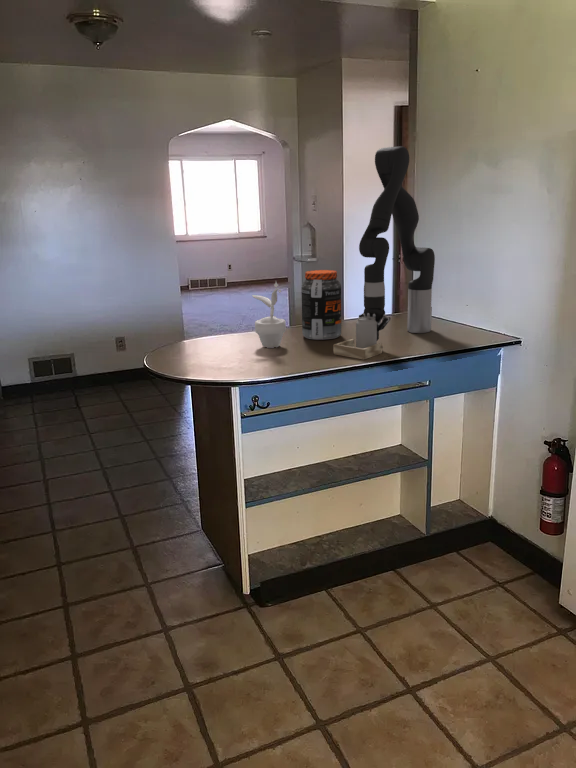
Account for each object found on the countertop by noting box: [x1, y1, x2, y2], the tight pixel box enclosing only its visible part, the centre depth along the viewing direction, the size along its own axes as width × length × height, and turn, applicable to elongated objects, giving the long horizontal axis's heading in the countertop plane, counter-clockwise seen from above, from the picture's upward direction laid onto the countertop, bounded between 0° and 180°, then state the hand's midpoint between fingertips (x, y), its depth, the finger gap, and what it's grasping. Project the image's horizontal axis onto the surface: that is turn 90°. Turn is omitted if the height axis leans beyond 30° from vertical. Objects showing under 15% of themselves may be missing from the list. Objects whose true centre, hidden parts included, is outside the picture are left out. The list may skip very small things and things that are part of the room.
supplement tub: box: [301, 269, 342, 341], centre depth 250 cm, size 16×16×26 cm
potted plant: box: [251, 281, 287, 349], centre depth 237 cm, size 13×12×25 cm
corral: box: [332, 338, 383, 360], centre depth 225 cm, size 11×13×4 cm
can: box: [355, 316, 378, 349], centre depth 228 cm, size 8×8×12 cm
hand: (374, 340), depth 232 cm, fingers closed
